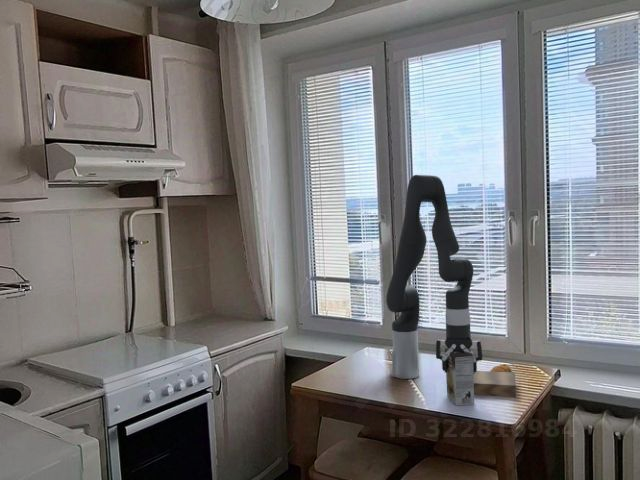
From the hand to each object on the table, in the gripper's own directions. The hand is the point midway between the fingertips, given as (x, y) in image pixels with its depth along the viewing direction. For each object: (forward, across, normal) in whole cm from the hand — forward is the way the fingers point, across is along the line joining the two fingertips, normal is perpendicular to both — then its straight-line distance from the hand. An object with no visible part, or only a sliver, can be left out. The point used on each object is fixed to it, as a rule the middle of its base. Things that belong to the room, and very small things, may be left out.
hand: (459, 372), depth 177 cm
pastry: (+10, +12, +29) cm, 33 cm away
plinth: (+9, +10, +13) cm, 19 cm away
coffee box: (+9, 0, 0) cm, 9 cm away
